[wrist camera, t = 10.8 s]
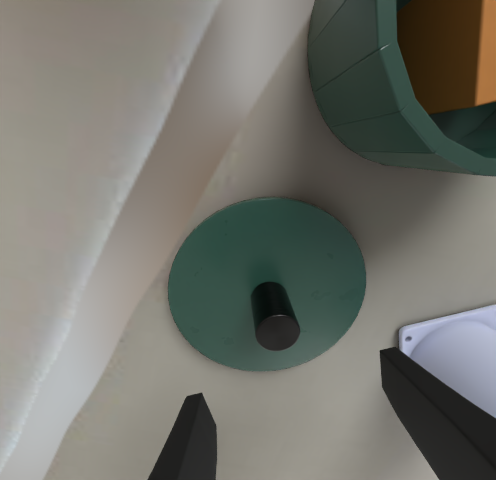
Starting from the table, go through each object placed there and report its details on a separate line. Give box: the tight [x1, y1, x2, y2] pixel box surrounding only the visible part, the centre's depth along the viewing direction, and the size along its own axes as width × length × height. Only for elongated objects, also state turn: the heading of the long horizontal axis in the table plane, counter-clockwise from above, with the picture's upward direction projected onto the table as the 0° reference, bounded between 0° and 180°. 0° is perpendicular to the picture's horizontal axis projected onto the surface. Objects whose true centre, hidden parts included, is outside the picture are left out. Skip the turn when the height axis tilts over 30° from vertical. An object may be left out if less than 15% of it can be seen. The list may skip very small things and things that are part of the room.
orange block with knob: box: [397, 0, 496, 115], centre depth 10 cm, size 8×4×5 cm, turn 13°
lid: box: [168, 197, 366, 371], centre depth 15 cm, size 13×13×5 cm
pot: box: [308, 0, 496, 176], centre depth 10 cm, size 12×12×6 cm
